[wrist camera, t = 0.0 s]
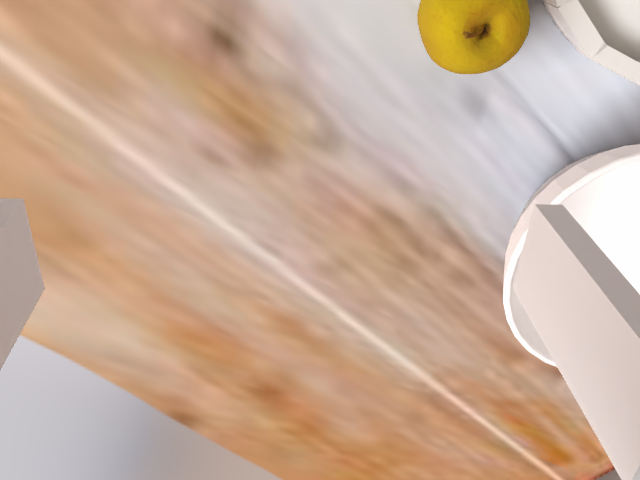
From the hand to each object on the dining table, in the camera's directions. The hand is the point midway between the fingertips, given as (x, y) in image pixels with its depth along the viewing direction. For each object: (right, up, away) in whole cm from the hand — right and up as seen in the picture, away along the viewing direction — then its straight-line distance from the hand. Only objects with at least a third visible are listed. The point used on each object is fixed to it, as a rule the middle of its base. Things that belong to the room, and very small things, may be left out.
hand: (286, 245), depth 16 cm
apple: (+10, +16, +24) cm, 31 cm away
